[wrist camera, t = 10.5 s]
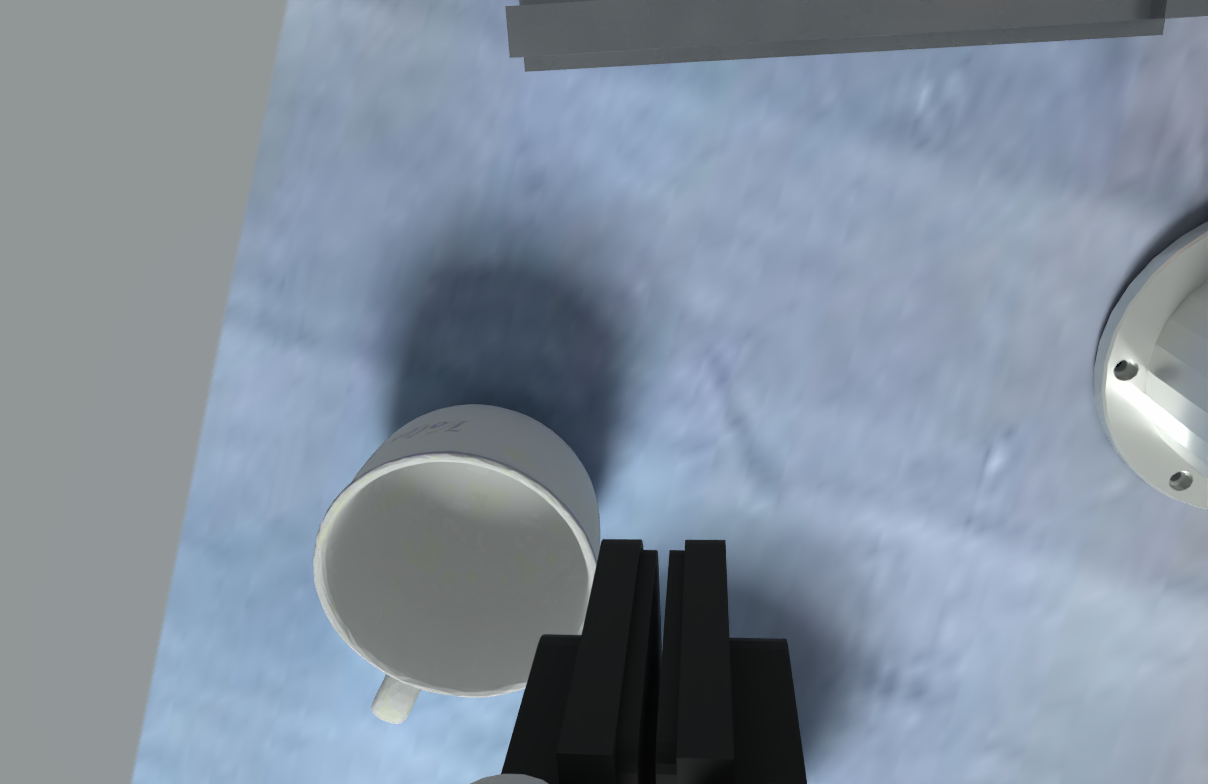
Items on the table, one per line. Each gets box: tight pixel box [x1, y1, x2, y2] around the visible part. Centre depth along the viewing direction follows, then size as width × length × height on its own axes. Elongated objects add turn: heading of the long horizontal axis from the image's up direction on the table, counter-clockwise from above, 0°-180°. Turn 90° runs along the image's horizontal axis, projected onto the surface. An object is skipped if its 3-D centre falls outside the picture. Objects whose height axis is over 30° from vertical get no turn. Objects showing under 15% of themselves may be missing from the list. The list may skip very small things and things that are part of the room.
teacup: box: [313, 404, 600, 724], centre depth 37 cm, size 14×11×8 cm
